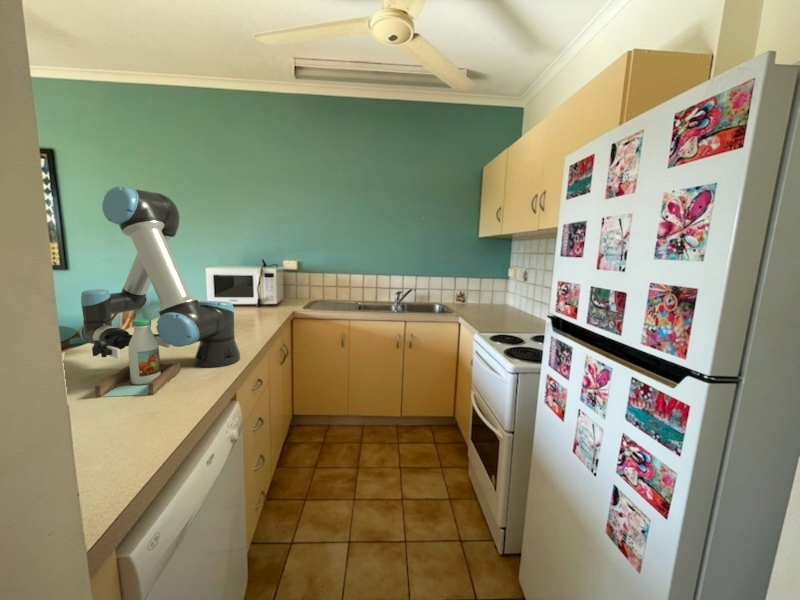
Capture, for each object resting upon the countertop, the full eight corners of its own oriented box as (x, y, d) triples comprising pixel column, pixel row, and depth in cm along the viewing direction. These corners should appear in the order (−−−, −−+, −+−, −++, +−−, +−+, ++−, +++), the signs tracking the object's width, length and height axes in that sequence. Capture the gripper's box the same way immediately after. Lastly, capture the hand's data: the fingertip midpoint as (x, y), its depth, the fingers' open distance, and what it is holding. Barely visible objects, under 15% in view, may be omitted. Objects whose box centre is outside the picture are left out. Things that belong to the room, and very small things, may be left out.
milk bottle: (128, 387, 102) (122, 323, 99) (134, 378, 109) (129, 318, 106) (158, 383, 106) (154, 321, 103) (162, 374, 112) (158, 316, 110)
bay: (180, 372, 115) (179, 362, 115) (153, 394, 98) (152, 383, 97) (132, 373, 112) (131, 363, 112) (95, 397, 95) (94, 385, 94)
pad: (158, 385, 104) (158, 384, 104) (147, 395, 97) (147, 394, 97) (117, 387, 102) (117, 386, 102) (103, 397, 95) (103, 396, 95)
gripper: (153, 340, 126) (186, 350, 116) (64, 358, 104) (95, 371, 95) (152, 321, 125) (185, 329, 115) (61, 334, 103) (93, 346, 94)
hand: (145, 348), depth 105 cm, fingers open, 13 cm apart
